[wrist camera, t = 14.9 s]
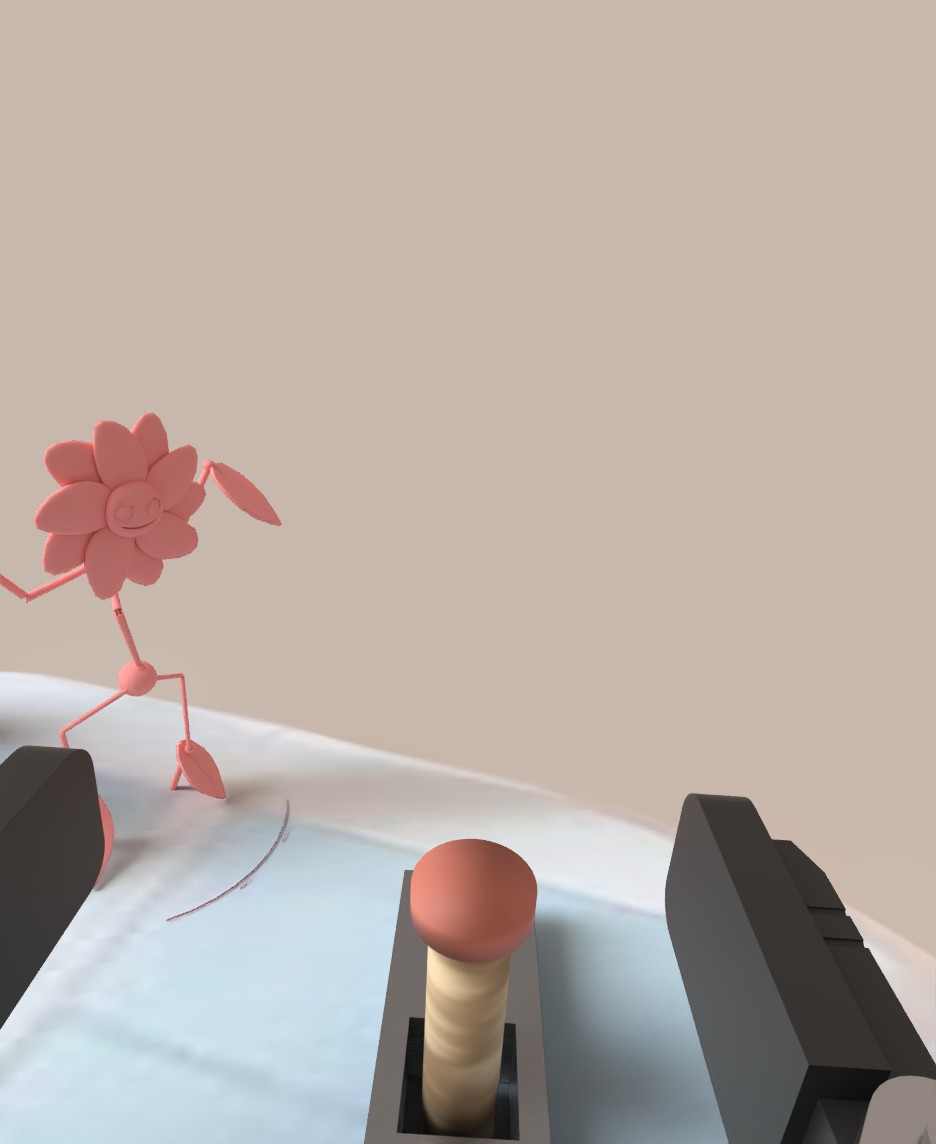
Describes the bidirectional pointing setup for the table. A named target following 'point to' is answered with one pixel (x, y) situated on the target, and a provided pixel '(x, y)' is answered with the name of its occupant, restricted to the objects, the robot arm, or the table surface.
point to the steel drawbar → (406, 1042)
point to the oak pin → (467, 976)
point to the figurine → (132, 546)
